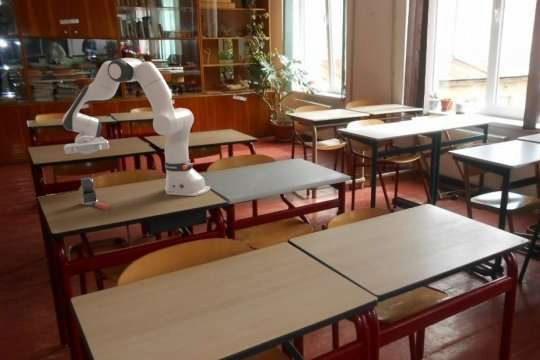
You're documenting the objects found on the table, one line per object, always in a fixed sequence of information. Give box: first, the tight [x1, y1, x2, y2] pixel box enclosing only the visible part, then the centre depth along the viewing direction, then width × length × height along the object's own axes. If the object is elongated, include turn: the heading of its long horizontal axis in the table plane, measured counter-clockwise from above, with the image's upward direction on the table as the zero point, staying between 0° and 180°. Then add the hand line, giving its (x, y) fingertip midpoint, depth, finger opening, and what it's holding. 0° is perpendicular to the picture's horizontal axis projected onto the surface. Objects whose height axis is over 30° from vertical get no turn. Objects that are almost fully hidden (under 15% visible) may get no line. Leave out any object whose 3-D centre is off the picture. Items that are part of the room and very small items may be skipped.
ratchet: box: [81, 197, 113, 211], centre depth 211 cm, size 18×7×4 cm, turn 53°
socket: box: [80, 176, 97, 203], centre depth 212 cm, size 5×5×10 cm
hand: (88, 149), depth 223 cm, fingers open, 8 cm apart
